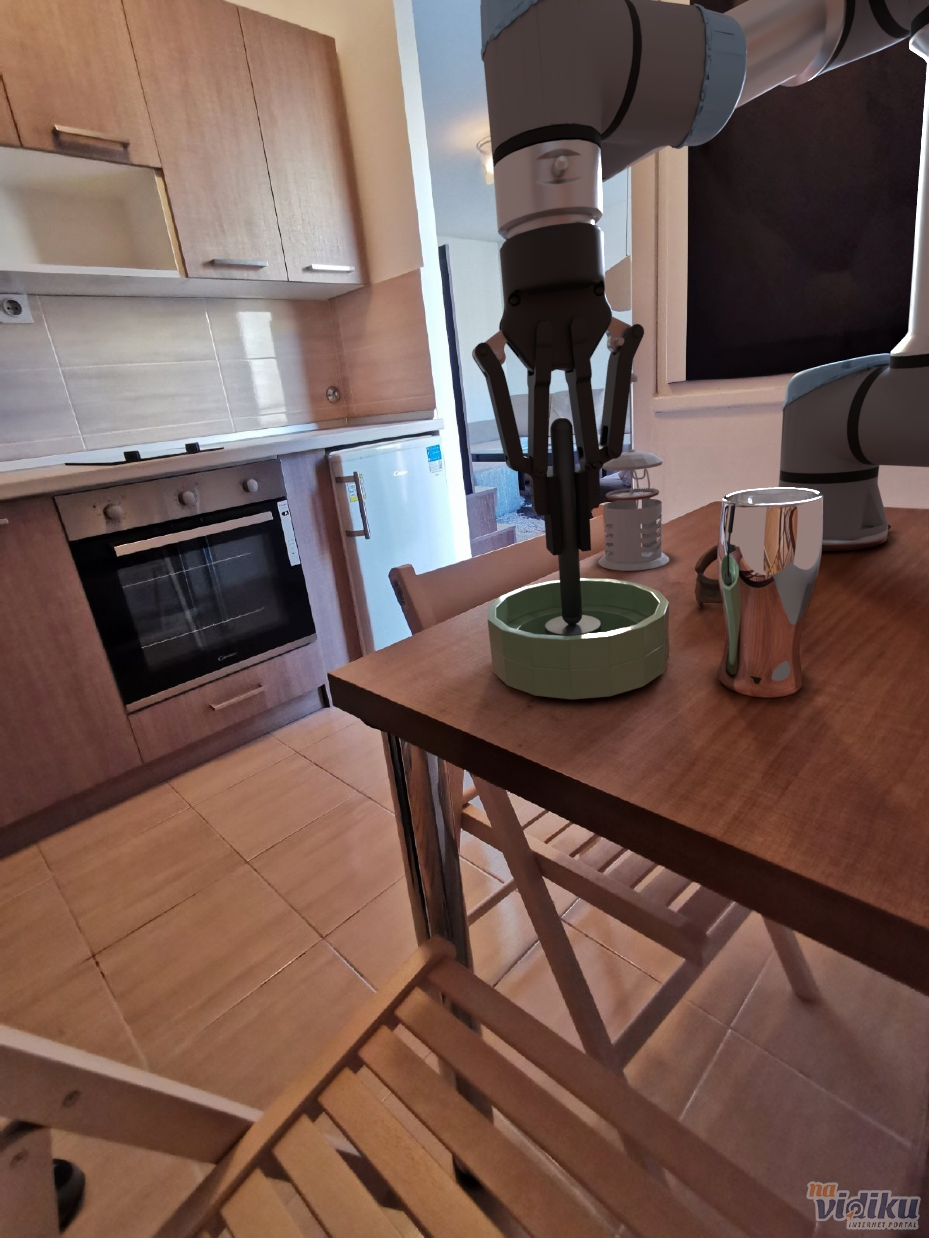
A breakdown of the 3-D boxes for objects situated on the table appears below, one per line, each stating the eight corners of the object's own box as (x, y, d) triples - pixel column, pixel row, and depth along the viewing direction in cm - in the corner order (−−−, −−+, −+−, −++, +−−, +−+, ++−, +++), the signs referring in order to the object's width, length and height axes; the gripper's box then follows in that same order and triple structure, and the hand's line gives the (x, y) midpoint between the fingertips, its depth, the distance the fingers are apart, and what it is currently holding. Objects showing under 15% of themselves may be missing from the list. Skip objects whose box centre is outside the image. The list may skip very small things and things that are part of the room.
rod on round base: (607, 640, 55) (599, 412, 48) (594, 663, 51) (583, 416, 44) (555, 637, 57) (540, 418, 50) (539, 658, 53) (520, 423, 46)
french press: (589, 569, 83) (580, 378, 74) (612, 548, 92) (607, 376, 83) (661, 571, 78) (661, 368, 69) (678, 549, 87) (679, 367, 79)
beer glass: (733, 655, 52) (742, 486, 47) (821, 674, 48) (840, 487, 42) (698, 686, 48) (702, 503, 43) (790, 710, 43) (807, 506, 38)
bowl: (676, 638, 57) (677, 579, 55) (653, 717, 44) (652, 645, 42) (525, 629, 64) (521, 577, 62) (467, 696, 51) (458, 632, 49)
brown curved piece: (818, 618, 59) (793, 558, 55) (726, 657, 63) (696, 603, 59) (771, 558, 69) (747, 504, 65) (694, 595, 72) (667, 546, 69)
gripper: (452, 230, 39) (488, 572, 47) (671, 206, 39) (670, 547, 47) (446, 258, 46) (478, 551, 54) (631, 236, 46) (636, 529, 55)
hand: (568, 549), depth 51 cm, fingers closed on rod on round base, 2 cm apart
